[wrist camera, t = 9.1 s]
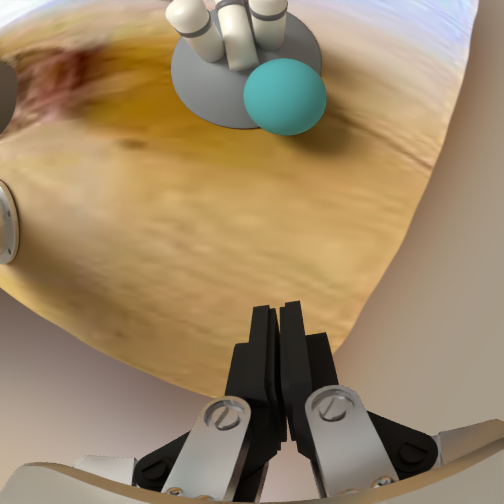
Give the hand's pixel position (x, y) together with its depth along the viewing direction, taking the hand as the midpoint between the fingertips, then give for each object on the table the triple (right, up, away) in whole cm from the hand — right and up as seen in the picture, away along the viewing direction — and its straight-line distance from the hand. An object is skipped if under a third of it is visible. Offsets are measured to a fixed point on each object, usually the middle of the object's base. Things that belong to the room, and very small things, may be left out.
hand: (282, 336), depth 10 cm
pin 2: (0, +21, +8) cm, 23 cm away
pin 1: (-5, +20, +9) cm, 23 cm away
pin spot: (-2, +19, +9) cm, 22 cm away
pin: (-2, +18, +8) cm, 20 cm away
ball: (+1, +14, +8) cm, 16 cm away
